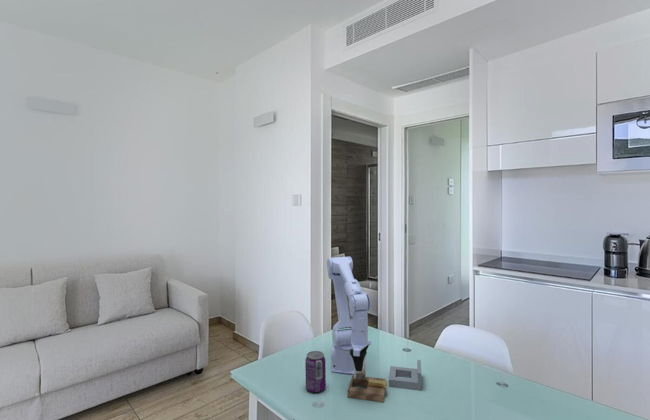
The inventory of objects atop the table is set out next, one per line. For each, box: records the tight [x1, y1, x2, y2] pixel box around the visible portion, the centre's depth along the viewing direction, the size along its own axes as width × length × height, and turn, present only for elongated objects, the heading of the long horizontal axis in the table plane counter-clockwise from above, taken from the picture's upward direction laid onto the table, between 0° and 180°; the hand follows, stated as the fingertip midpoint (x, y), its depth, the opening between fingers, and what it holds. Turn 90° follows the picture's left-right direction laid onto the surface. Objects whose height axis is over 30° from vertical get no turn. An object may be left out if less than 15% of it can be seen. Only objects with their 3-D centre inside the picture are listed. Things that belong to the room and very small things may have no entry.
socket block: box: [347, 374, 387, 403], centre depth 115 cm, size 12×10×2 cm
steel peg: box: [353, 355, 367, 380], centre depth 115 cm, size 4×4×8 cm
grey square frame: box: [388, 359, 423, 391], centre depth 121 cm, size 11×10×6 cm
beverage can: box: [304, 350, 327, 393], centre depth 117 cm, size 7×7×12 cm
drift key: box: [368, 379, 388, 389], centre depth 114 cm, size 6×3×1 cm, turn 76°
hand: (359, 367), depth 115 cm, fingers closed on steel peg, 4 cm apart
